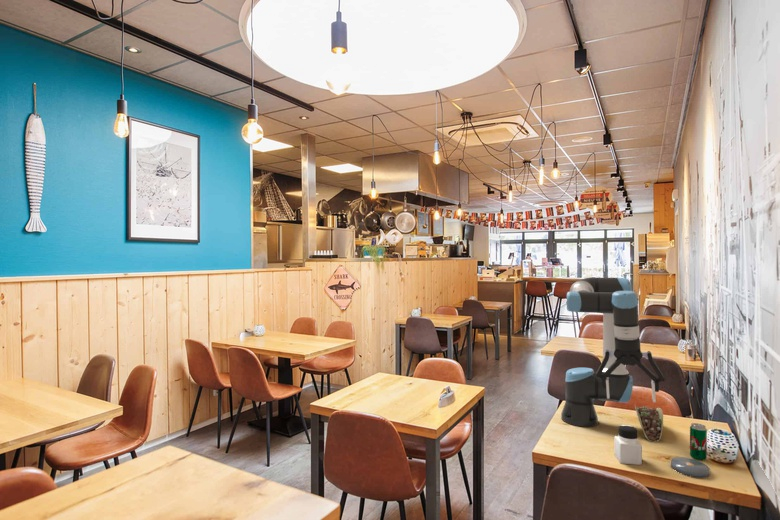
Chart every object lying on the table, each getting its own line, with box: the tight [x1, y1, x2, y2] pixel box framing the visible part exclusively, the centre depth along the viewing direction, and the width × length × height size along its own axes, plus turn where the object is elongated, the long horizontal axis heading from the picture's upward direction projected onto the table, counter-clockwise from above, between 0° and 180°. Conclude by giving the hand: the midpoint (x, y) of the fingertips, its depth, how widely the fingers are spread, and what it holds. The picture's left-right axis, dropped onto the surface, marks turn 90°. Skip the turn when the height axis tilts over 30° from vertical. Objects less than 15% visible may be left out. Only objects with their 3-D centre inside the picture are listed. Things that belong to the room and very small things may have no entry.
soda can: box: [689, 422, 708, 461], centre depth 160 cm, size 5×5×12 cm
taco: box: [634, 404, 664, 443], centre depth 186 cm, size 10×27×10 cm, turn 157°
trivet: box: [670, 456, 711, 479], centre depth 150 cm, size 11×11×2 cm
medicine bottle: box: [613, 424, 643, 466], centre depth 158 cm, size 7×7×12 cm
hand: (630, 399), depth 148 cm, fingers open, 13 cm apart
